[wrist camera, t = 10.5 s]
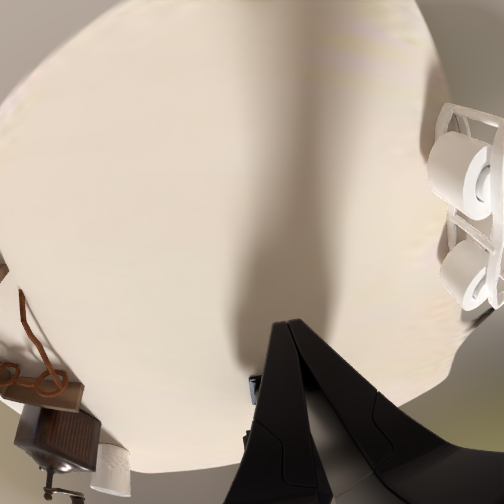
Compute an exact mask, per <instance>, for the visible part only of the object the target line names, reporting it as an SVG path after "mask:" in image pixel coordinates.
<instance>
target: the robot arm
mask: <svg viewBox="0 0 504 504" xmlns="http://www.w3.org/2000/svg"><path fill="white" fill-rule="evenodd" d="M249 385H250V392H251V398H252V404H253V405H256V408H255V412H254V417H253V421H252V425H251V430H247V431H246V433H247V435H246V436H244V437H243V442H244V451H245V452H244V455H243V457H242V460H241V463H240V465H239V468H238V470H237V473H236V475H235V477H234V480H233V482H232V484H231V487H230V489H229V491H228V493H227V496H226V498H225V500H224V503H223V504H330V503H331V501H332V498H333V496H334V498H335V501H336V504H504V452H494V451H484V450H476V449H469V448H462V447H459V446H456V445H453V444H451V443H449V442H447V441H445V440H444V439H442V438H440V437H439V436H437V435H436V434H434V433H433V432H431V431H430V430H428V429H427V428H425V427H424V426H423V425H421V424H419V423H418V422H417V421H415V420H413V419H412V418H411V417H410V416H408V415H407V414H405V413H404V412H403V411H401V410H400V409H399V408H398V407H396V406H395V405H394V404H393V403H392V402H391V401H389V400H388V399H387V398H386V397H385V396H384V395H383V394H382V393H380V392H379V391H378V392H377V389H376V388H375V387H374V386H373V385H372V384H370V383H369V382H368V381H367V380H366V379H365V378H364V377H363V376H362V375H361V374H359V373H358V372H357V371H356V370H355V369H354V368H353V367H352V366H351V365H350V364H349V363H347V362H346V361H345V360H344V359H343V358H342V357H341V356H340V355H339V354H338V353H337V352H336V351H334V350H333V349H332V348H331V347H330V346H329V345H328V344H327V343H326V342H325V341H324V340H323V339H322V338H320V337H319V336H318V335H317V334H316V333H315V332H314V331H313V330H312V329H311V328H310V327H309V326H308V325H307V324H305V323H304V322H303V321H302V320H301V319H293V320H288V321H287V322H286V321H281V322H274V323H273V324H272V328H271V333H270V338H269V344H268V349H267V354H266V359H265V364H264V369H263V374H262V375H260V376H253V377H250V378H249Z"/></svg>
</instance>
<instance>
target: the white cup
mask: <svg viewBox="0 0 504 504" xmlns="http://www.w3.org/2000/svg"><path fill="white" fill-rule="evenodd" d="M129 462H130V453H129V452H128V451H127V450H125V449H124V448H121V447H118V446H115V445H111V444H104V443H102V444H98V453H97V464H96V472H92V475H91V483H90V487H91V488H93V489H95V490H97V491H100V492H104V493H108V494H112V495H117V496H124V497H130V496H131V492H130V464H129Z"/></svg>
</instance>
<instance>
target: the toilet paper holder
mask: <svg viewBox="0 0 504 504" xmlns="http://www.w3.org/2000/svg"><path fill="white" fill-rule="evenodd" d="M453 114H454V116H455V118H456V122H457V125H458V129H459V133H458V132H454V131H451V132H447V128H448V125H449V122H450V120H451V117H452V115H453ZM467 118H470V119H474V120H477V121H480V122H483V123H486V124H489V125H492V126H495V127H498V129H497V132H496V134H495V137H494V141H493V145H490V144H488V143H485V142H483V141H480V140H478V139H475V138H472V136H471V132H470V127H469V123H468V120H467ZM427 178H428V182H429V185H430V188H431V189H432V191H433V192H434V193H435V195H437V196H438V197H440V198H442V199H443V200H445V201H446V202H447V239H448V248H449V251H450V252H449V253H448V255H447V256H446V258H445V260H444V261H443V263H442V266H441V269H440V274H439V279H440V283H441V284H442V285H443V286H444V287H445V288H446V289H447V290H448V292H449V293H450V294H451V295H452V296H453V297H454V298H455V300H456V301H457V302H458V303H459V304H460V305H461V307H462V308H463V309H464V310H467V311H470V310H472V309H475V308H476V307H478V306H479V305H480V304H481V303H483V301H485V300H486V299H487V297H488V301H489V303H490V304H491V305H492V306H493V308H494V309H498V308H499V307H500V306H502V305H503V304H504V290H503V291H502V292H500V293H499V294H498V295H497V289H496V285H497V281H498V279H499V276H500V277H501V278H502V279H503V280H504V271H503V270H502V269H501V268H500V262H501V257H502V252H503V248H504V118H502V117H499V116H496V115H492V114H489V113H486V112H482V111H478V110H475V109H471V108H467V107H463V106H459V105H456V104H452V103H444V105H443V107H442V108H441V111H440V113H439V116H438V118H437V121H436V126H435V144H434V145H433V147H432V149H431V152H430V154H429V157H428V164H427ZM457 209H458V210H459V211H461V212H462V213H464V214H465V215H466V216H468V217H469V218H471V219H473V220H482V219H484V218H486V217H488V216H489V215H490V214H491V213H492V214H493V223H492V228H491V231H490V234H489V237H488V238H487V237H486V236H485V235H484V234H482V233H481V232H480V231H479V230H477V229H476V228H475V227H473V226H472V225H471V224H469V223H468V222H467V221H465V220H464V219H463V218H461V217H460V216H458V215H457ZM456 225H458V226H459V227H460V228H462V229H463V230H464V231H465V232H467V233H468V234H469V235H471V236H472V237H473V238H474V239H475V240H477V241H478V242H479V243H480V244H481V245H483V246H484V247H485V248H486V249H485V250H484V249H482V248H481V247H480V246H479V245H478V244H477V243H475V242H474V241H473V240H470V239H467V240H463V241H461V242H459V243H458V244H457V245H456Z"/></svg>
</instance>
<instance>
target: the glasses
mask: <svg viewBox="0 0 504 504" xmlns="http://www.w3.org/2000/svg"><path fill="white" fill-rule="evenodd" d="M19 303H20V315H21V323H22V325H23V327H24V329H25V331H26V333H27V335H28V337H29V338H30V339H31V341H32V342H33V343H34V344H35V345H36V347H37V349H38V351H39V353H40V355H41V357H42V359H43V361H44V363H45V365H46V367H47V369H48V370H47V371H45V372H43V373H42V374H41V375H40V376H39V377H38V379H37V380H36V382H26V381H21V380H18V377H19V374H20V368H19V366H18V365H17V364H14V363H4V364H2V365H1V366H0V371H1V370H3V369H4V368H6V367H14V368H16V372H15V375H14V376H13V378H12V379H10V380H9V381H6V382H0V387H7V386H10V385H12V384H14V383H15V382H16V383H17V384H18V385H20V386H25V387H34V388H35V390H36V391H37V393H38V394H39V395H40V396H42V397H47V398H51V397H56V396H58V395H60V394H61V393H62V392H63V391H64V390H65V389H66V387H67V385H68V377H67V375H66V373H65V372H64V371H59V370H54V369H53V367H52V365H51V363H50V361H49V359H48V357H47V355H46V353H45V351H44V348H43V346H42V344H41V343H40V341H39V340H38V339H37V338H36V337H35V336H34V334H33V333H32V331H31V329H30V327H29V325H28V323H27V321H26V310H25V297H24V294H23V292H22V290H20V289H19ZM56 374H59V375H61V376H63V383H62V384H61V382H60V380H59V378H58V377H57V375H56ZM48 375H51V376H52V378H53V380H54V382H55V384H56V385H57V387H58V389H57V390H55V391H53V392H43V391H41V390H40V388H39V386H40V383H41V381H42V380H43V379H44V378H45V377H46V376H48Z"/></svg>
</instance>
